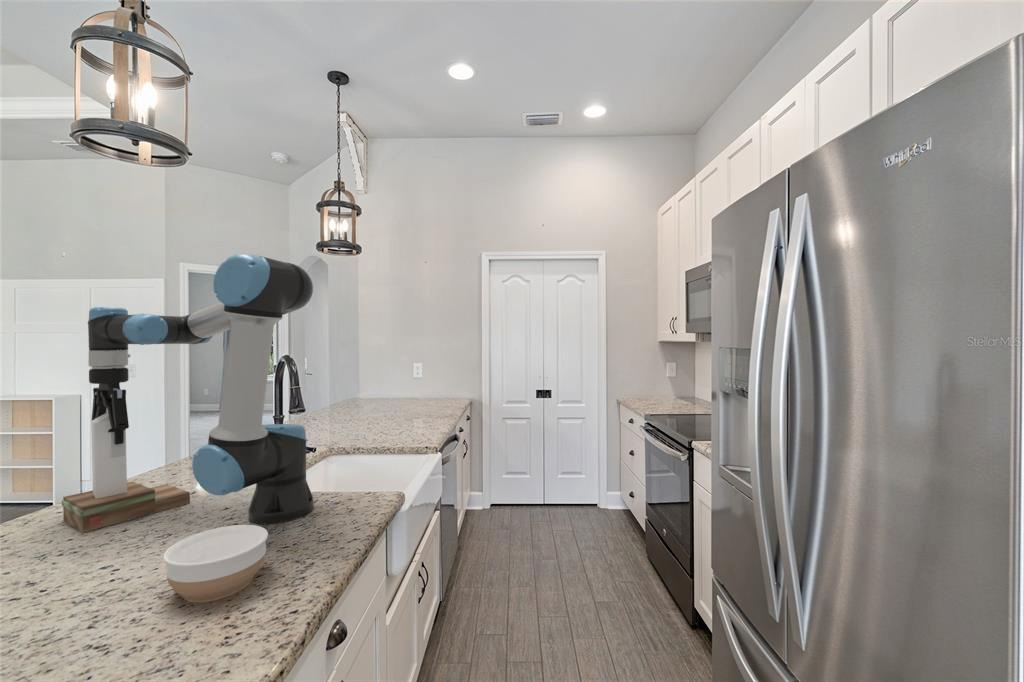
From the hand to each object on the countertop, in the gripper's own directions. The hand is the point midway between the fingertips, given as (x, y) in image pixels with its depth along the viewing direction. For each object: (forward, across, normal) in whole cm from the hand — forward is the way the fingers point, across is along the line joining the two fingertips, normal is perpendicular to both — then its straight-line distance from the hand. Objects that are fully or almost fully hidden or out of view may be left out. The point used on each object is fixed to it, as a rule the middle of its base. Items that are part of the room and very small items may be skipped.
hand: (109, 454), depth 113 cm
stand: (+16, 0, -4) cm, 17 cm away
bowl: (+16, -59, +2) cm, 61 cm away
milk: (+10, 0, 0) cm, 10 cm away
